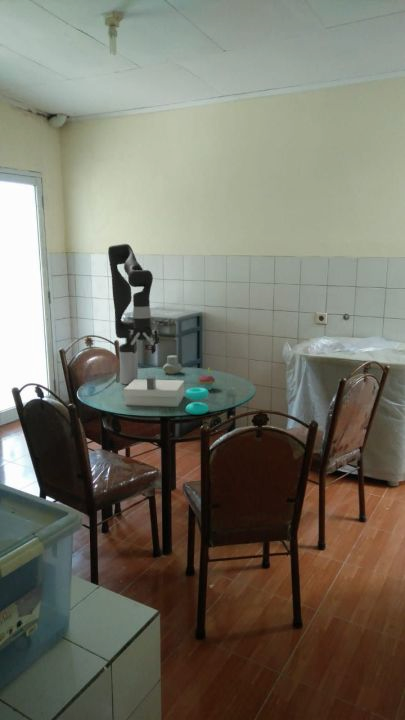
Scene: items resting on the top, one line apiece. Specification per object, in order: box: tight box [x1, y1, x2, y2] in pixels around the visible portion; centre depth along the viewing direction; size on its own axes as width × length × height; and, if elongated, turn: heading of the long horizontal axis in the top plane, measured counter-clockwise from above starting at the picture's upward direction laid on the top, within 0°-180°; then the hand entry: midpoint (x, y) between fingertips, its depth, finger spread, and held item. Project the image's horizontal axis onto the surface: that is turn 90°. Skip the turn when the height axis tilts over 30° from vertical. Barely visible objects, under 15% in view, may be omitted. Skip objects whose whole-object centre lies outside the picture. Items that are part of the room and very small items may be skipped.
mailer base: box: [124, 382, 185, 408], centre depth 239 cm, size 17×24×7 cm
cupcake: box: [197, 367, 216, 391], centre depth 258 cm, size 9×8×12 cm
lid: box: [123, 376, 185, 397], centre depth 237 cm, size 18×24×8 cm
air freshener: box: [162, 354, 183, 375], centre depth 293 cm, size 11×8×10 cm
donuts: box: [184, 387, 210, 416], centre depth 221 cm, size 10×10×10 cm
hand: (143, 353), depth 227 cm, fingers open, 8 cm apart
